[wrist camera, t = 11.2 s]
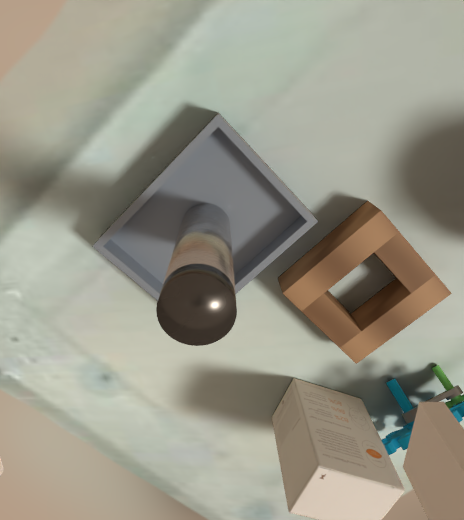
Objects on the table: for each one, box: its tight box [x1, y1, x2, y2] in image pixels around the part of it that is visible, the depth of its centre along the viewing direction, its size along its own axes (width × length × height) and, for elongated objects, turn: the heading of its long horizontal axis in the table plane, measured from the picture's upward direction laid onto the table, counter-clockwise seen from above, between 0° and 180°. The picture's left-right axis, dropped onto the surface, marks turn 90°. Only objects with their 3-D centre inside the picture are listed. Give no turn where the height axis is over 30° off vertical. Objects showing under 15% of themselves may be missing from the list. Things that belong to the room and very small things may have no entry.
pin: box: [157, 203, 237, 346], centre depth 26 cm, size 4×4×14 cm
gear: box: [382, 365, 464, 455], centre depth 39 cm, size 11×6×10 cm
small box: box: [272, 378, 405, 520], centre depth 36 cm, size 8×6×10 cm
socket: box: [278, 201, 451, 364], centre depth 34 cm, size 10×10×3 cm
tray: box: [93, 113, 318, 301], centre depth 32 cm, size 14×11×2 cm
